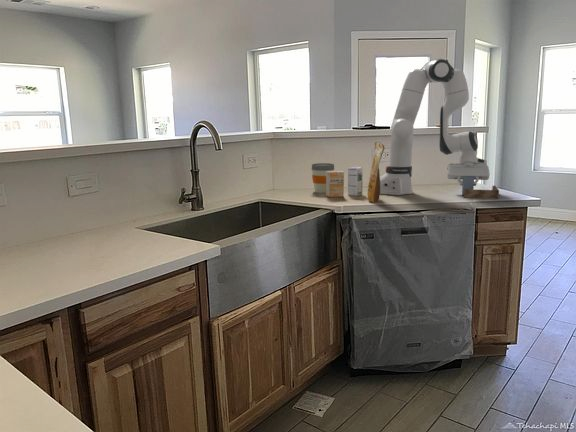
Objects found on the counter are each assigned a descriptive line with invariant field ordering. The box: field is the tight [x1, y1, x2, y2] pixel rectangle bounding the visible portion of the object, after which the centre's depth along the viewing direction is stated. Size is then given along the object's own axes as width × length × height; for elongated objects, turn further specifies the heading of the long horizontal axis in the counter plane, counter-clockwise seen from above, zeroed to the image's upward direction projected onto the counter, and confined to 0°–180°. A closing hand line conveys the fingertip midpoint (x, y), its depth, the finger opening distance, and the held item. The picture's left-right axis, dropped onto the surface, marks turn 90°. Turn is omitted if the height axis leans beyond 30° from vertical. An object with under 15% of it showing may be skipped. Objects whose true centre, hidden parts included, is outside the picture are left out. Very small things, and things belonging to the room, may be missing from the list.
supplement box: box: [325, 170, 345, 198], centre depth 234 cm, size 8×5×13 cm, turn 105°
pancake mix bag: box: [367, 141, 385, 203], centre depth 221 cm, size 7×19×28 cm, turn 173°
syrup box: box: [347, 166, 363, 197], centre depth 238 cm, size 6×6×14 cm
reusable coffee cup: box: [311, 162, 335, 194], centre depth 250 cm, size 12×13×15 cm
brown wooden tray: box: [463, 185, 500, 200], centre depth 231 cm, size 16×17×4 cm
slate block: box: [461, 177, 475, 195], centre depth 233 cm, size 5×5×9 cm
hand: (468, 185), depth 232 cm, fingers closed on slate block, 5 cm apart
